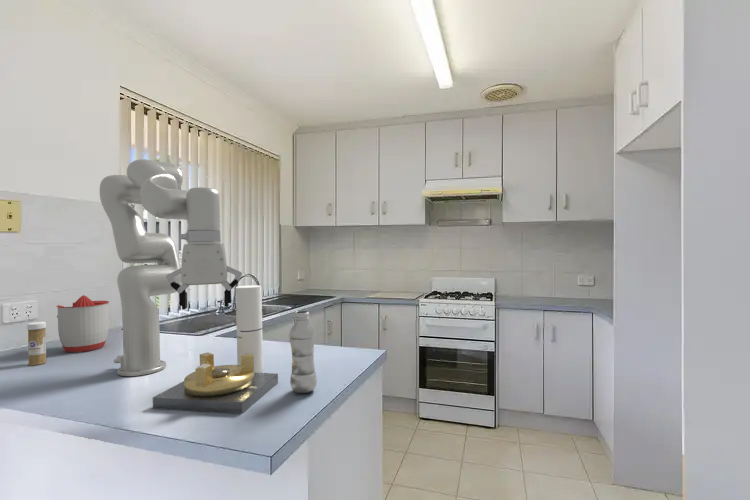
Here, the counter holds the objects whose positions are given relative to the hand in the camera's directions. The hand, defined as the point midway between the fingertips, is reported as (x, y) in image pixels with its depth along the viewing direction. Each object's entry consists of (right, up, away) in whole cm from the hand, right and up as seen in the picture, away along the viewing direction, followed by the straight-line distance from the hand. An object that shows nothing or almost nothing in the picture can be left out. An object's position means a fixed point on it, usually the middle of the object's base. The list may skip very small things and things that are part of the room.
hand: (206, 307), depth 96 cm
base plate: (+3, -22, 0) cm, 22 cm away
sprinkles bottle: (-68, -23, +30) cm, 77 cm away
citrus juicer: (-67, -23, +48) cm, 85 cm away
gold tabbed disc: (+3, -19, 0) cm, 19 cm away
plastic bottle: (+24, -22, +1) cm, 32 cm away
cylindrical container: (+5, -22, +18) cm, 28 cm away
